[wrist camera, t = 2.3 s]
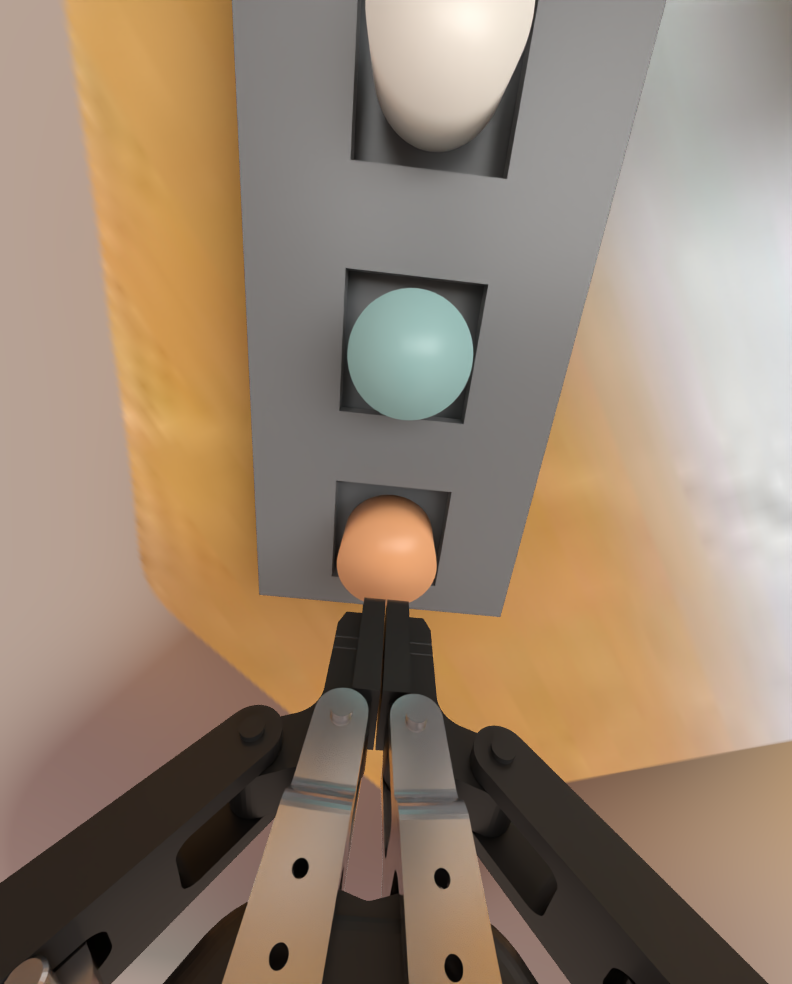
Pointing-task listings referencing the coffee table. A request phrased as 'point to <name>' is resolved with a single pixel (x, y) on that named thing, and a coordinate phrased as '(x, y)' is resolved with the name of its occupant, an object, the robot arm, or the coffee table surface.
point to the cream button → (444, 64)
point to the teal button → (410, 354)
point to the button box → (418, 278)
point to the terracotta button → (387, 550)
